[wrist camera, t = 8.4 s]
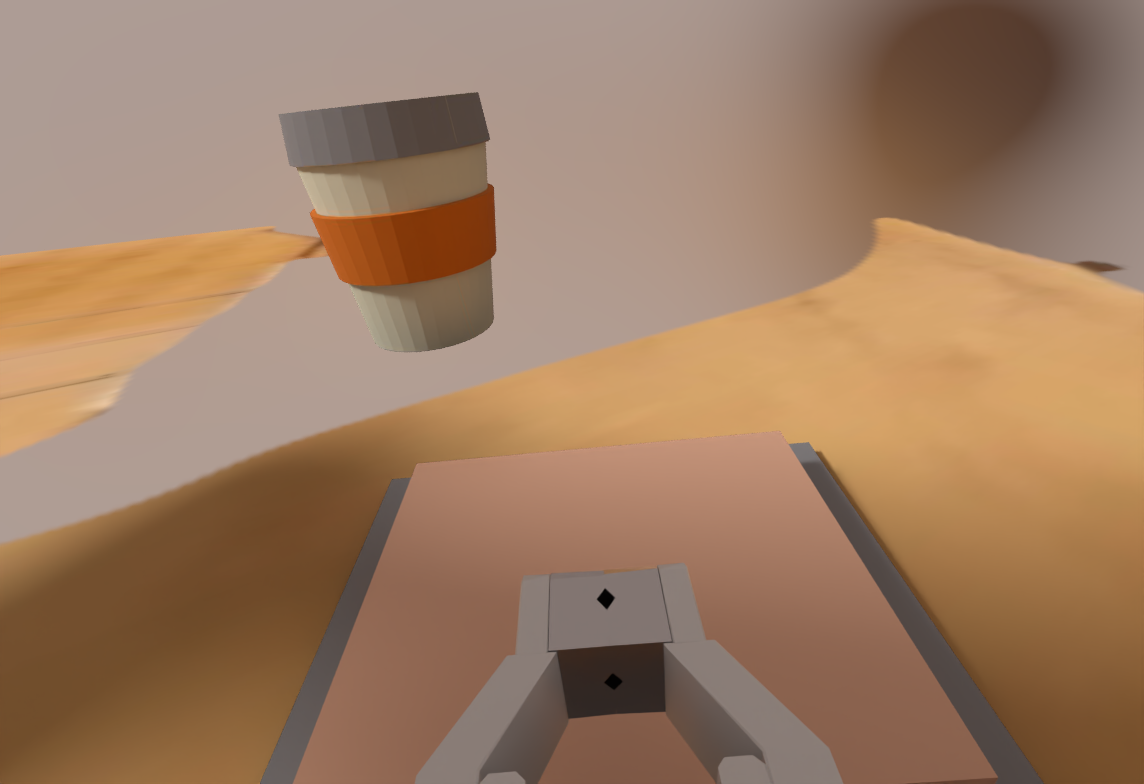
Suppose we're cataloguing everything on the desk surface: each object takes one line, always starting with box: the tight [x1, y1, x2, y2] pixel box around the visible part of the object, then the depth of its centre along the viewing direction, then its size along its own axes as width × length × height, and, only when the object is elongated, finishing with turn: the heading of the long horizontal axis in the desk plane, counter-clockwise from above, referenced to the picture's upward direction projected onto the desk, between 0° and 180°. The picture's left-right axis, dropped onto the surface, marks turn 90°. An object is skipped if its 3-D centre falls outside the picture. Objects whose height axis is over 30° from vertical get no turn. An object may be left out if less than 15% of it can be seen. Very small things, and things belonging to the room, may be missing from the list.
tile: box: [293, 431, 998, 784], centre depth 16 cm, size 2×14×12 cm
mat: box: [260, 442, 1044, 784], centre depth 16 cm, size 19×18×1 cm
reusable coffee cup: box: [279, 92, 496, 352], centre depth 38 cm, size 12×12×15 cm
